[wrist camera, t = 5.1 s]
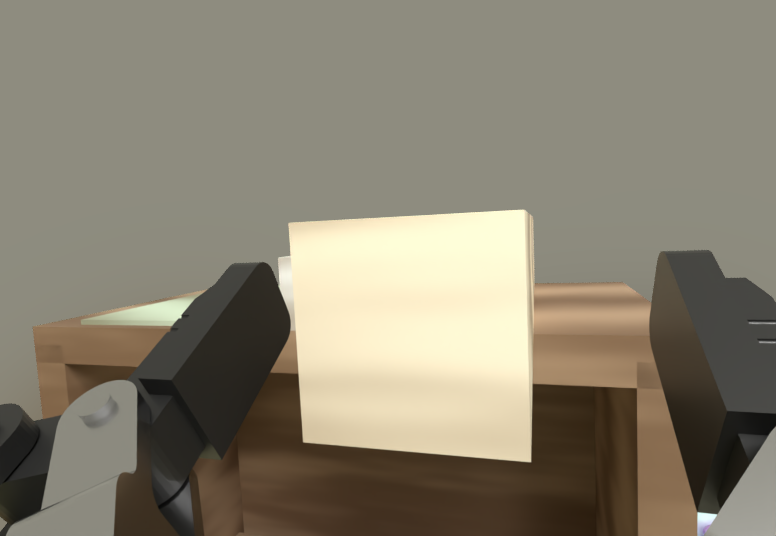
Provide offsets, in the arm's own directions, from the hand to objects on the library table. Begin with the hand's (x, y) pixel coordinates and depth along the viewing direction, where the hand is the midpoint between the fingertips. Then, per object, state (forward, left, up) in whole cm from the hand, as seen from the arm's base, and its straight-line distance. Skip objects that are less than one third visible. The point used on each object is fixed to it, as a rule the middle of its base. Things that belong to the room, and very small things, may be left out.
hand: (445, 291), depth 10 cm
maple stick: (-7, -5, -2) cm, 9 cm away
